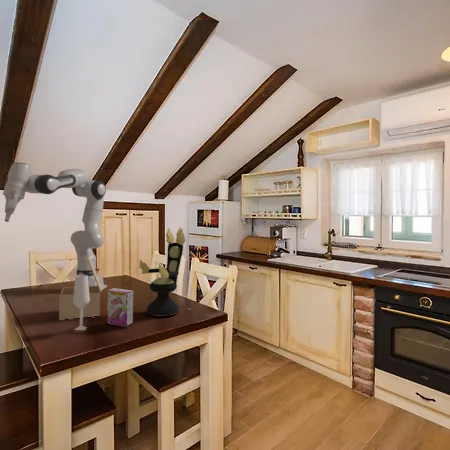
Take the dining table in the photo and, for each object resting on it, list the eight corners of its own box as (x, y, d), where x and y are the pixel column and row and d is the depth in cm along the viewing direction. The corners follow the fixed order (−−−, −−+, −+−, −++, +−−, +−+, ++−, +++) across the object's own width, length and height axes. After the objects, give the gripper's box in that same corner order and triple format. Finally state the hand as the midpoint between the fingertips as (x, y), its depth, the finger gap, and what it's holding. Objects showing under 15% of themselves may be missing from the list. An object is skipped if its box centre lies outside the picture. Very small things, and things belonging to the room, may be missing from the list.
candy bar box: (106, 325, 147) (106, 290, 147) (113, 321, 152) (113, 287, 152) (126, 328, 144) (127, 292, 143) (133, 325, 149) (133, 290, 148)
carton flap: (87, 259, 155) (88, 258, 155) (88, 254, 170) (89, 254, 170) (100, 292, 158) (101, 292, 158) (100, 285, 173) (101, 285, 173)
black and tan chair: (137, 312, 167) (138, 226, 165) (170, 304, 184) (172, 226, 182) (159, 321, 155) (161, 228, 153) (192, 311, 171) (195, 227, 170)
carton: (59, 320, 152) (59, 295, 151) (62, 310, 167) (62, 287, 166) (99, 316, 159) (100, 292, 158) (99, 307, 173) (100, 285, 173)
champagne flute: (86, 333, 137) (86, 277, 136) (70, 333, 137) (70, 277, 136) (91, 327, 144) (92, 274, 143) (76, 327, 144) (76, 274, 143)
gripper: (23, 191, 151) (15, 220, 148) (20, 198, 168) (13, 223, 165) (7, 187, 148) (-1, 216, 145) (6, 195, 164) (-2, 221, 162)
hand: (6, 220), depth 155 cm, fingers open, 8 cm apart
